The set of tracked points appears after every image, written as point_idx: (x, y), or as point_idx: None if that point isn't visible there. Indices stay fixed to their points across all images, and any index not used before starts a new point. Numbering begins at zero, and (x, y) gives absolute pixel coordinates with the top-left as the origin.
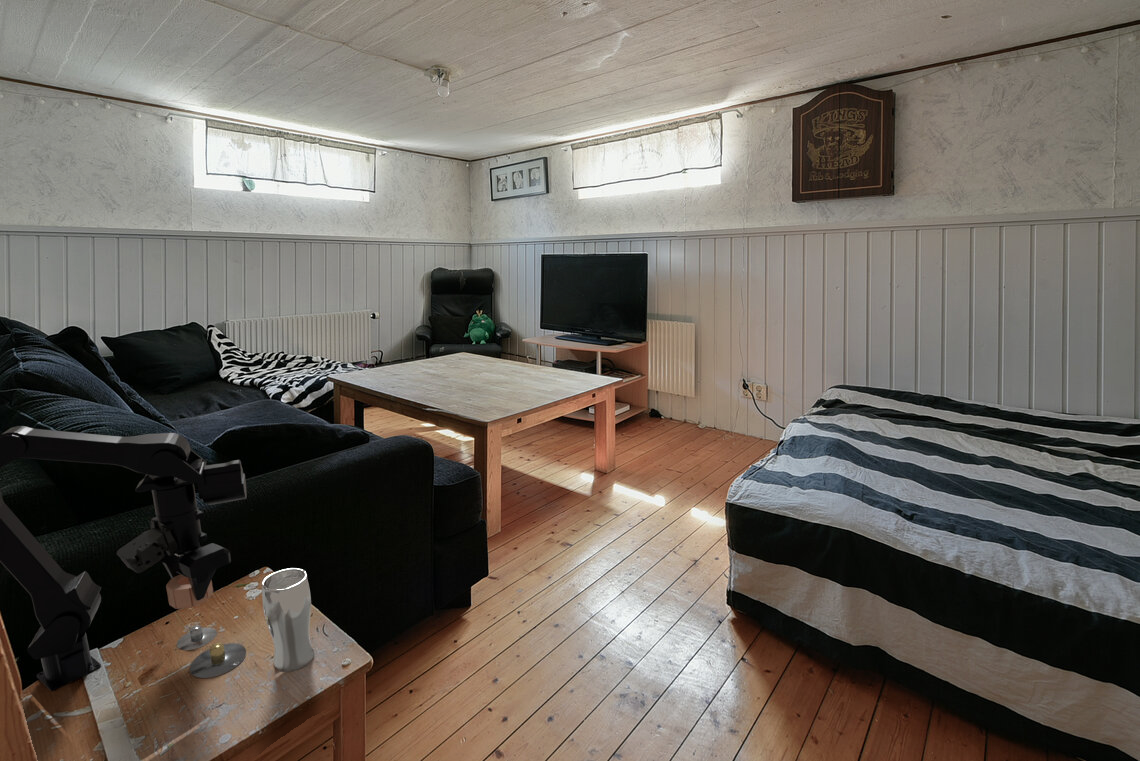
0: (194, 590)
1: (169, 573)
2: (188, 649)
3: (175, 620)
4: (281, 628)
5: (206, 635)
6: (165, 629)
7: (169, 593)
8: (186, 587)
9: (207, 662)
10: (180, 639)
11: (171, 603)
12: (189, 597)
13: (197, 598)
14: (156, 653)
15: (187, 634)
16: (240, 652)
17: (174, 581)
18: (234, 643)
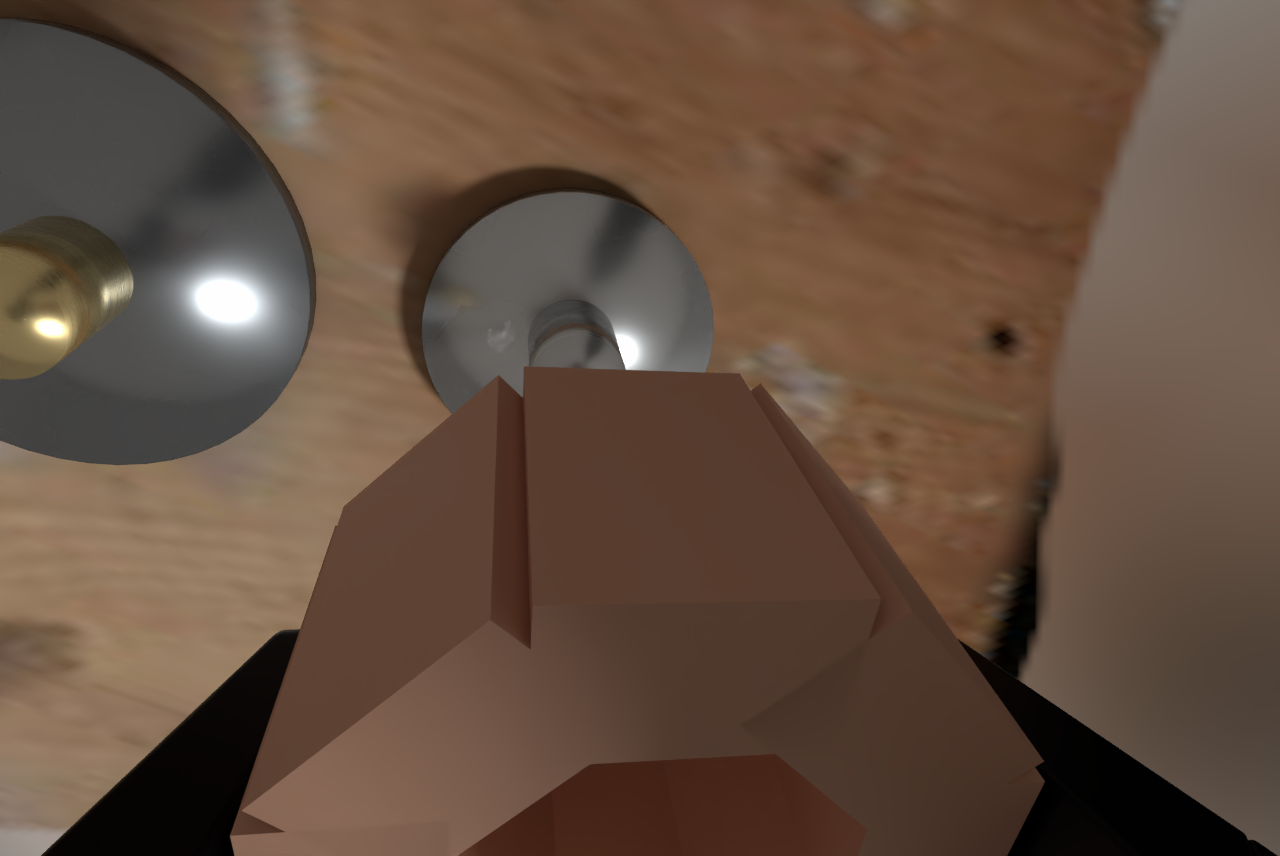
0: (75, 828)
1: (1197, 829)
2: (480, 224)
3: (967, 380)
4: None
5: None
6: (943, 287)
7: (710, 503)
8: (337, 800)
9: (99, 197)
10: (681, 266)
11: (660, 395)
12: (313, 621)
13: (244, 663)
14: (716, 66)
15: (695, 330)
16: (24, 411)
17: (875, 752)
18: (207, 447)
